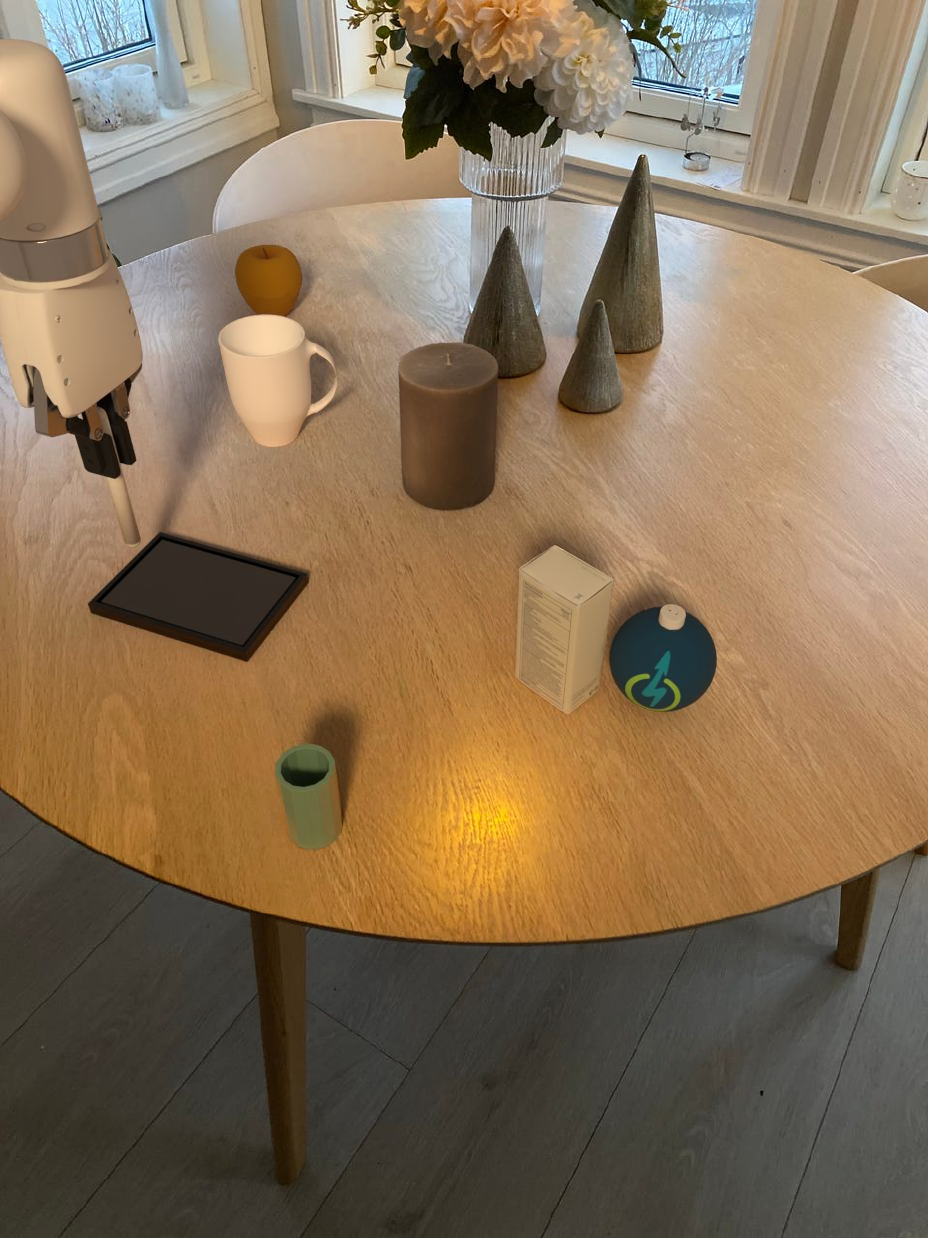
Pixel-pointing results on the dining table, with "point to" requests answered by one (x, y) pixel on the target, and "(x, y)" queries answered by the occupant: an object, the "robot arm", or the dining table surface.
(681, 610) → the christmas ornament
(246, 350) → the mug
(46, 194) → the robot arm
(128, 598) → the screen
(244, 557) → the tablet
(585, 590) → the cosmetic box
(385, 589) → the dining table surface
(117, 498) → the stylus
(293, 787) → the pen pot
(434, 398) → the pillar candle
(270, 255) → the apple
